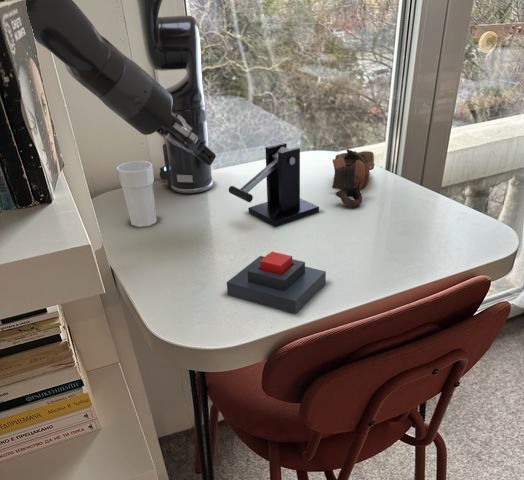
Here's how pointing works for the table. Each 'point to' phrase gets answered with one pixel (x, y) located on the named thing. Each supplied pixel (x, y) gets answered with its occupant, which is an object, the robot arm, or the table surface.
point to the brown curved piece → (368, 155)
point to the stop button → (276, 263)
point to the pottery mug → (351, 178)
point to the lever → (256, 179)
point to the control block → (277, 285)
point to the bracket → (283, 190)
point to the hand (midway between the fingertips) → (211, 159)
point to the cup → (138, 191)
